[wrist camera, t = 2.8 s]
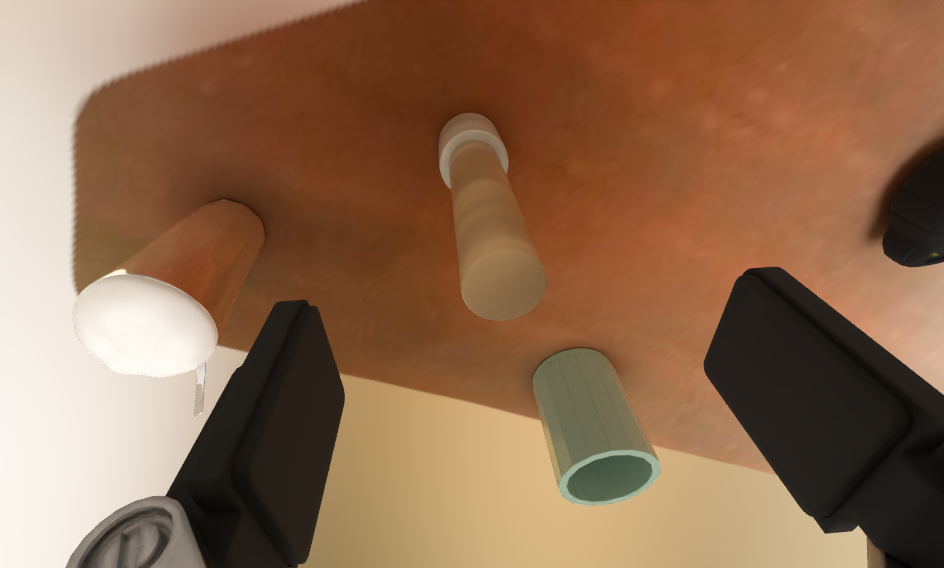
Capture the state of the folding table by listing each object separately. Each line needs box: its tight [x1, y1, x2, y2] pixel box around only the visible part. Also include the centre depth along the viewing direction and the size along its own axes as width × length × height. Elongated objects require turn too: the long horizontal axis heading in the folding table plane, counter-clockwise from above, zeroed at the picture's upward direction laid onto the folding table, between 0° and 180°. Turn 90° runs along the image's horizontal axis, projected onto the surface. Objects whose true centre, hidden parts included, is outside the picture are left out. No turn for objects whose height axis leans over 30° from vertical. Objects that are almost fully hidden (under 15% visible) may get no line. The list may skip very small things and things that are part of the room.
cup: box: [532, 348, 661, 506], centre depth 27 cm, size 6×6×8 cm
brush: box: [438, 113, 547, 320], centre depth 15 cm, size 3×3×12 cm
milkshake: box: [73, 199, 266, 416], centre depth 18 cm, size 4×5×10 cm
